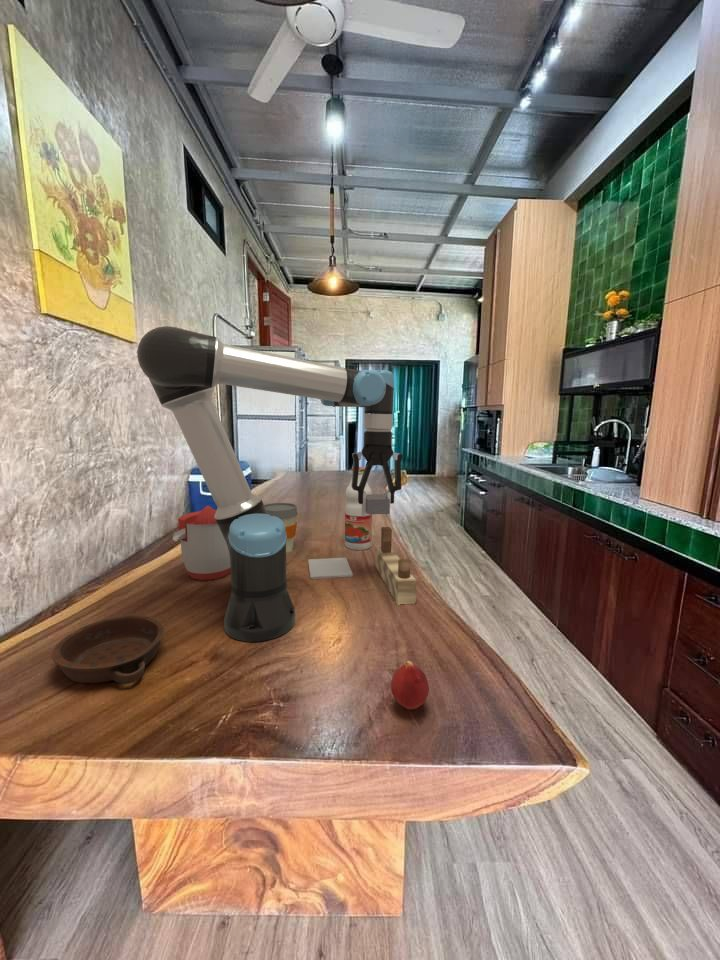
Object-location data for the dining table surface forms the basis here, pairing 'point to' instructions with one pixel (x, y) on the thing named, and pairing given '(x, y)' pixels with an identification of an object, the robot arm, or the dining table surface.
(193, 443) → the robot arm
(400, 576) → the wooden peg base
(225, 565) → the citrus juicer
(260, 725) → the dining table surface
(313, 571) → the mat
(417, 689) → the onion
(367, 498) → the lever cap
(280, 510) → the reusable coffee cup
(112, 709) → the dining table surface
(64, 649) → the dish
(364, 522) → the fruit juice
